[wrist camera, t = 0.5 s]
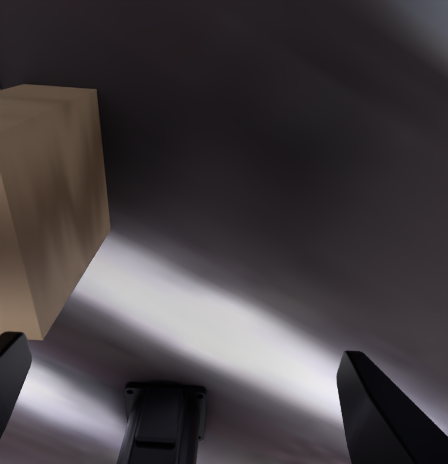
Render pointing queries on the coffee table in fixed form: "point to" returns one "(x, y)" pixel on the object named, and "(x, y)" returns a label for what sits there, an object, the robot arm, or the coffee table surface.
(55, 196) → the brown wooden block
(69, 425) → the coffee table surface
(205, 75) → the coffee table surface
